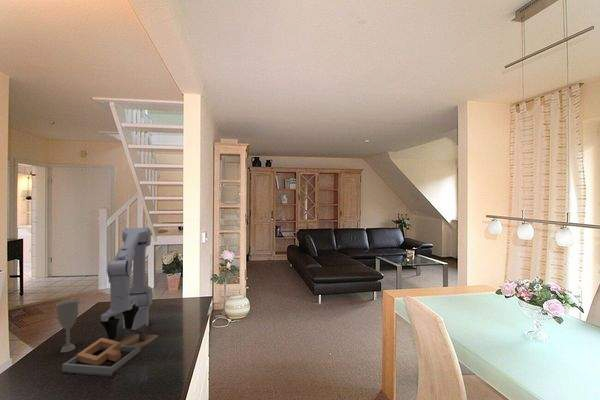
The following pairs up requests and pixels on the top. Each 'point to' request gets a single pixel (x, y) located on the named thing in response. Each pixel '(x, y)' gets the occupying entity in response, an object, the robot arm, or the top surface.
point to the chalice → (67, 319)
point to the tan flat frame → (109, 353)
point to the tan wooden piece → (138, 338)
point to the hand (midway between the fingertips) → (120, 333)
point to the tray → (100, 370)
